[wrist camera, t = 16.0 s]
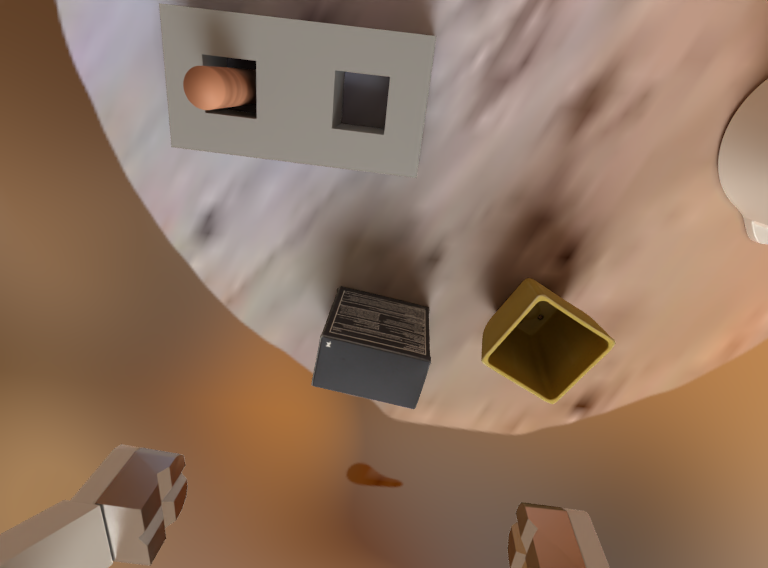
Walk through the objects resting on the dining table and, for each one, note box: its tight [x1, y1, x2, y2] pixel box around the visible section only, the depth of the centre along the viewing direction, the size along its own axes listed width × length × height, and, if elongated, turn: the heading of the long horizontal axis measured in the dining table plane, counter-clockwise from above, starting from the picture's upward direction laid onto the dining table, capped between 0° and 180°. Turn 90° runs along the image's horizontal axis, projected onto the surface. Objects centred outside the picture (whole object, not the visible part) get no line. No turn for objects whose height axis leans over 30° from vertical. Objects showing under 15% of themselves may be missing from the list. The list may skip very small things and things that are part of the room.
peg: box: [183, 66, 257, 110], centre depth 38 cm, size 3×3×10 cm
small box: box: [312, 286, 431, 409], centre depth 47 cm, size 11×6×10 cm, turn 78°
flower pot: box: [482, 278, 615, 404], centre depth 45 cm, size 9×9×9 cm
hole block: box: [159, 3, 436, 178], centre depth 40 cm, size 22×11×5 cm, turn 84°
